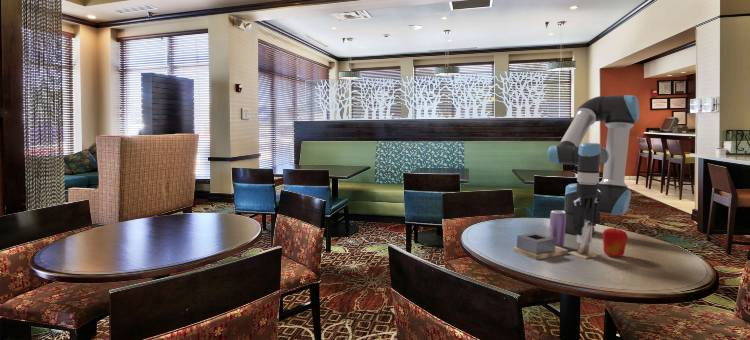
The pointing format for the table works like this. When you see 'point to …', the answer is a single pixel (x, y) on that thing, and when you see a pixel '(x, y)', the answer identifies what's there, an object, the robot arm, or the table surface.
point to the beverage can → (558, 227)
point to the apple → (614, 242)
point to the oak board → (539, 256)
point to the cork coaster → (583, 254)
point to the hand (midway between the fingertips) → (584, 242)
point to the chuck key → (585, 238)
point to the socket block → (536, 243)
